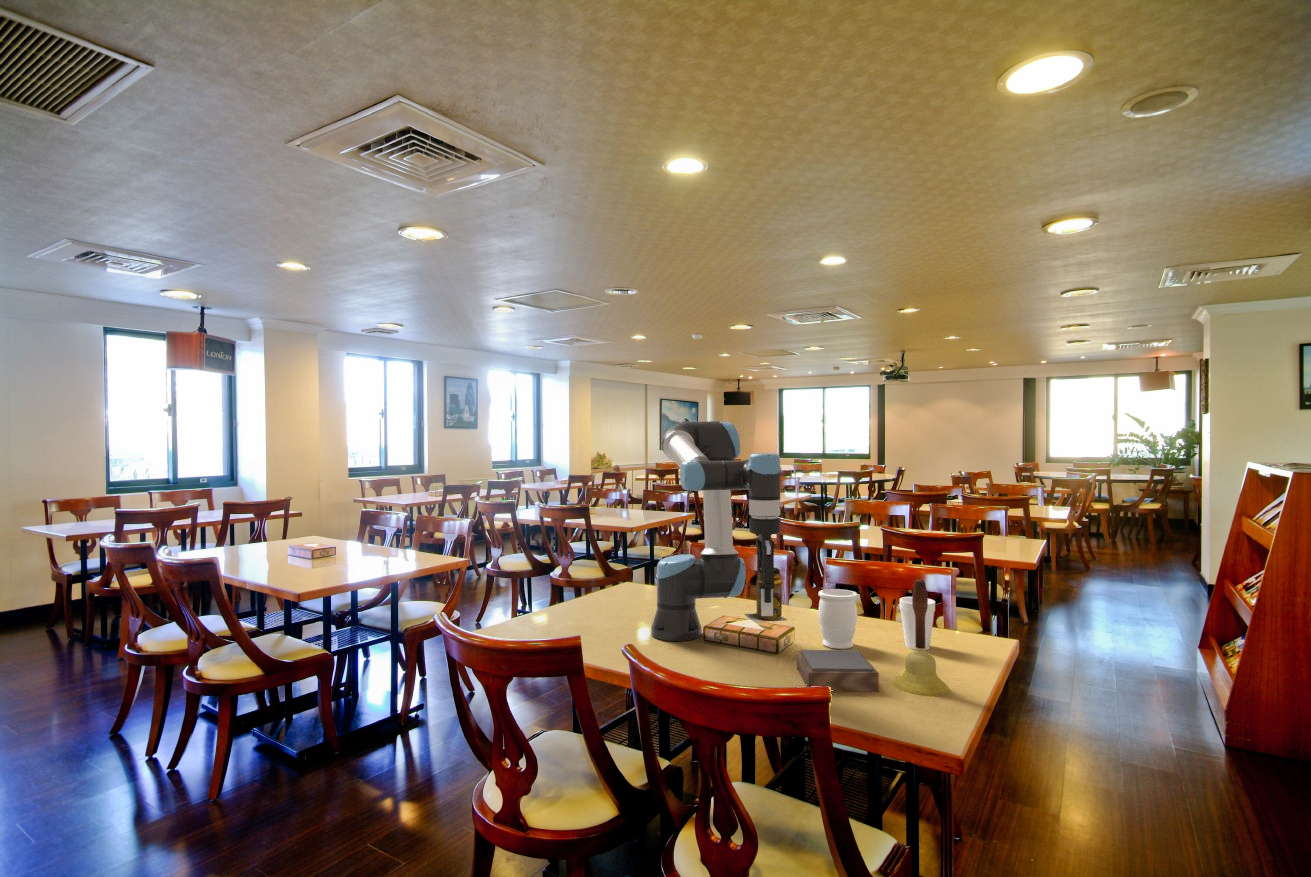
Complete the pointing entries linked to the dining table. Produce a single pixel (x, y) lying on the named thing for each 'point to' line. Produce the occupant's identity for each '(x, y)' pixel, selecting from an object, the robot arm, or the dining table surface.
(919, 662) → the handbell
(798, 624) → the dining table surface
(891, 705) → the dining table surface
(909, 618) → the foam cup
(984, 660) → the dining table surface
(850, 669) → the stand
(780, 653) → the dining table surface
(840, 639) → the jar
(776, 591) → the condiment
